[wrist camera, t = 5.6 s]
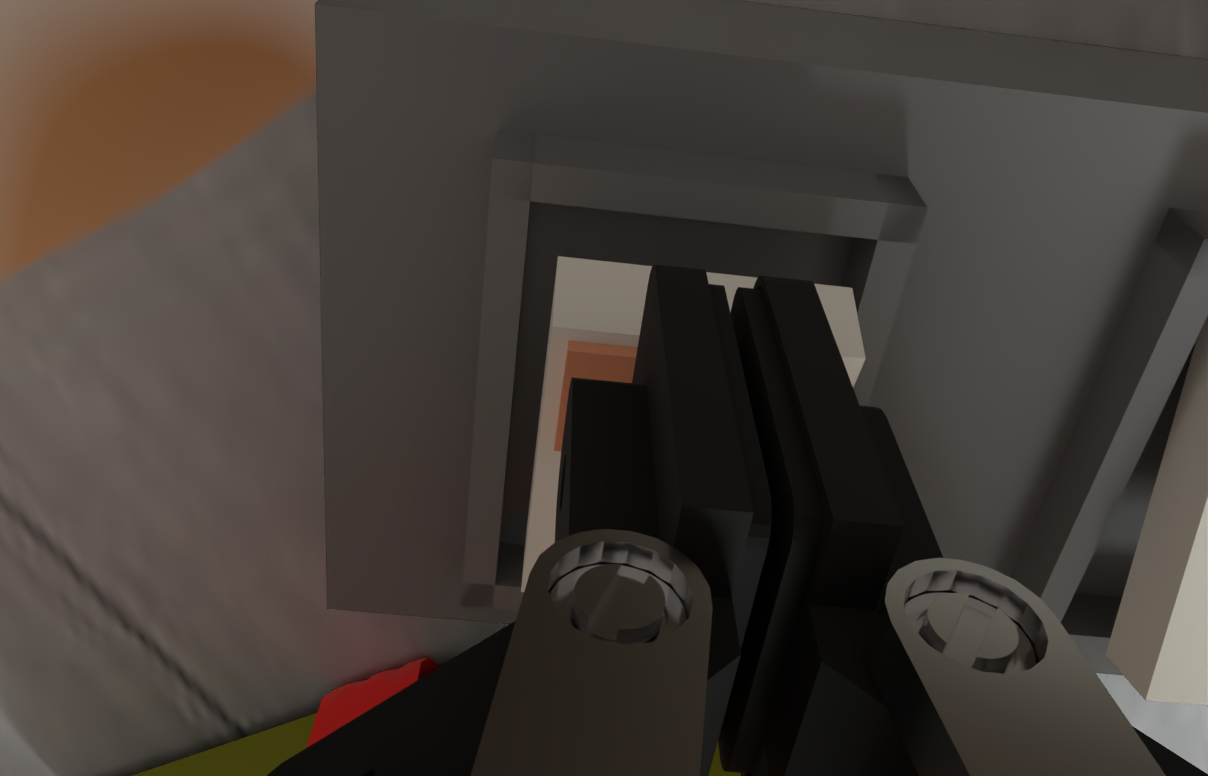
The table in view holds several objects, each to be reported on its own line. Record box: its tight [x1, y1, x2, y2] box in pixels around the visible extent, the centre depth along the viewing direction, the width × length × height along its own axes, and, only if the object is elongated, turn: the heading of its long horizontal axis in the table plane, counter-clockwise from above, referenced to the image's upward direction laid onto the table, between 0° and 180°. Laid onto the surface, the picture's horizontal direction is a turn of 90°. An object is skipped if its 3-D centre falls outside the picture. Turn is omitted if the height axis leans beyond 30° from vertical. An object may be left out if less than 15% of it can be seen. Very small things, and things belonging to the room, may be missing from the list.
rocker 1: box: [521, 256, 866, 592], centre depth 15 cm, size 4×6×1 cm, turn 173°
